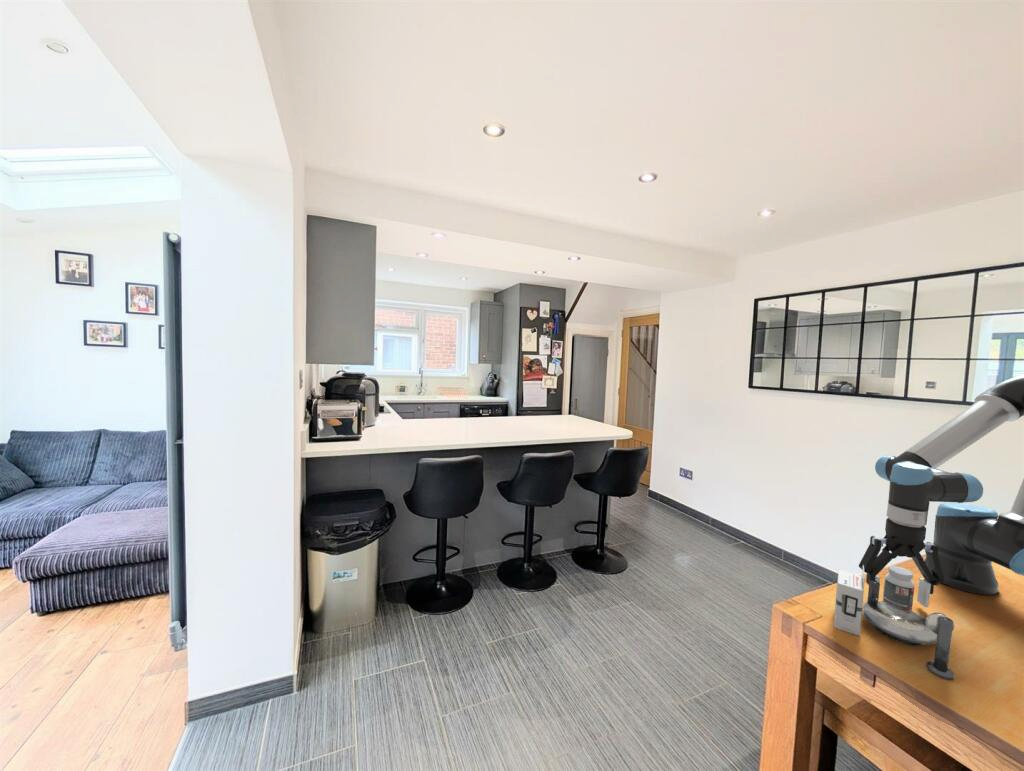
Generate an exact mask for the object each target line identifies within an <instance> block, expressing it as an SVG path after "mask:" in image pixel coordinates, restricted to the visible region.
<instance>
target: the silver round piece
mask: <svg viewBox="0 0 1024 771" xmlns="http://www.w3.org/2000/svg"><path fill="white" fill-rule="evenodd" d="M880 587H881V583H879V582H877V581H874V580H869V585H868V592H867V600H866V602H865V603H863V607H862V614H863V615H862V616H864V618H865V619H866V621H868V622H869V623H870V624H871V625H874V626H876V627H877V628H879V629H881V630H882V631H884V632H886V633H888V634H891V635H893V636H895V637H898V638H900V639H903V640H907V641H910V642H914V643H920V644H923V645H932V644H936V640H937V634H935V633H934V632H933V631H931V630H930V629H929V628H928V627H927V626H926V623H925V620H926V617H924V616H922V615H920V614H918V613H916V612H914V611H912V610H911V611H910V610H908V609H905V608H903V607H900V606H897V605H893V604H890V603H885V602H884V601H879V598H880ZM874 626H873V627H874Z"/></svg>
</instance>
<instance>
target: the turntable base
mask: <svg viewBox="0 0 1024 771" xmlns="http://www.w3.org/2000/svg"><path fill="white" fill-rule="evenodd" d="M872 625H873V624H872ZM873 627H874V628H875V629H876V631H878V632H879V633H880V634H883V635H884V636H886V637H887V638H888V639H889V638H890V639H892V640H893V641H895V642H898V643H901V644H904V645H909V646H915V647H916V646H918V647H919V646H923V645H924V644H920V643H914V642H910V641H907V640H903V639H900V638H898V637H895V636H893V635H891V634H888V633H886V632H884V631H882V630H881V629H879V628H877V627H876V626H874V625H873Z"/></svg>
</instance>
